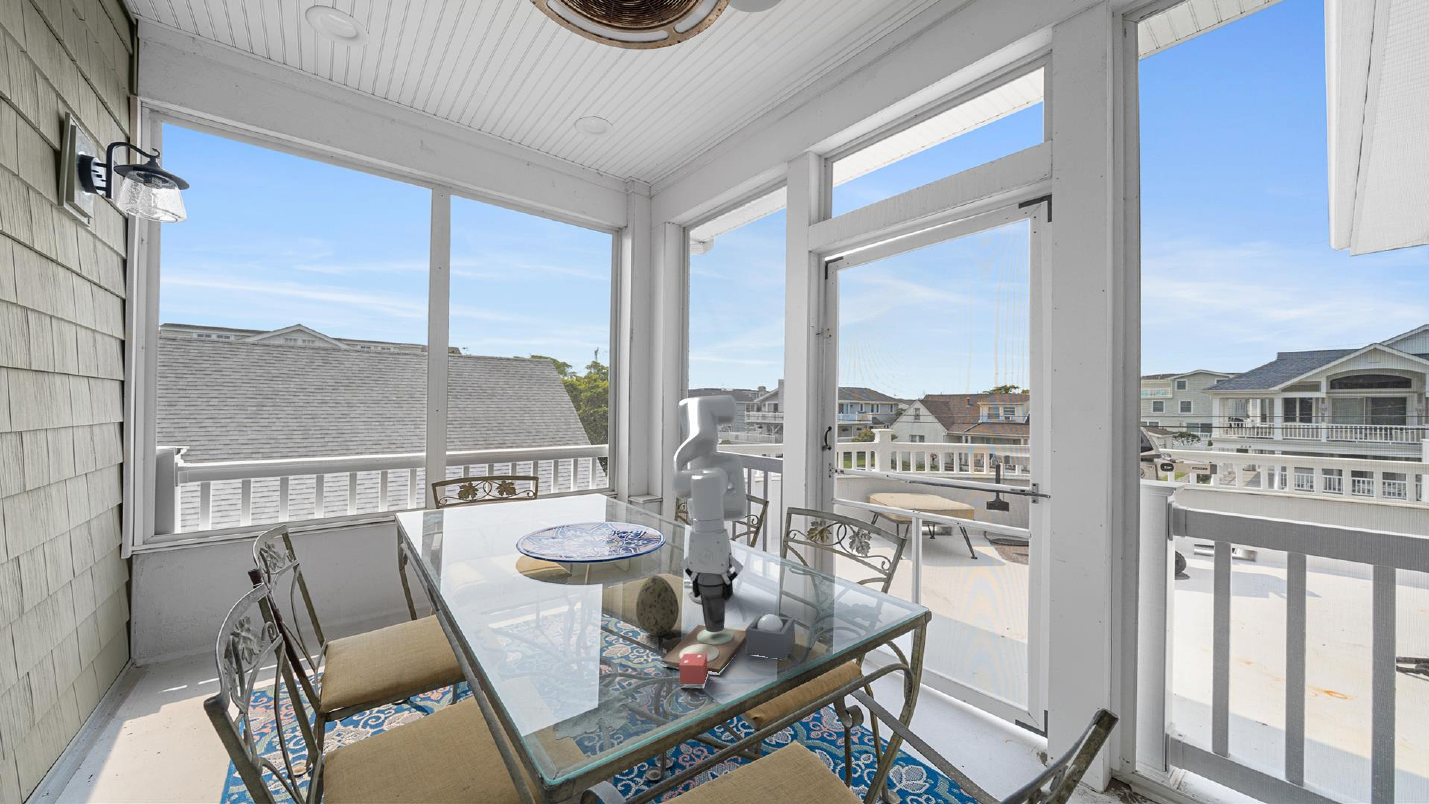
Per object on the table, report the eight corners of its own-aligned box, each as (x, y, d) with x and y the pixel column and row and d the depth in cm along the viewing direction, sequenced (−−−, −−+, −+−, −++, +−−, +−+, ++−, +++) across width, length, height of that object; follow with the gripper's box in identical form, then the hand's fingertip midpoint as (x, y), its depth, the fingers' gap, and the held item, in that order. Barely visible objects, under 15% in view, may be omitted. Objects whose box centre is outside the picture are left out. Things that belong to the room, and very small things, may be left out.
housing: (746, 655, 133) (745, 629, 133) (759, 638, 142) (758, 614, 141) (784, 660, 130) (783, 634, 130) (795, 643, 138) (794, 618, 138)
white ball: (754, 644, 134) (753, 619, 134) (763, 633, 140) (761, 609, 139) (779, 647, 132) (778, 621, 132) (787, 636, 137) (785, 611, 137)
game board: (662, 667, 130) (661, 659, 130) (698, 630, 148) (698, 623, 148) (719, 676, 125) (718, 667, 125) (750, 637, 143) (749, 630, 143)
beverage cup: (699, 623, 144) (694, 543, 143) (728, 620, 145) (723, 541, 144) (700, 636, 137) (695, 552, 136) (731, 633, 137) (726, 549, 137)
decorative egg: (633, 630, 151) (629, 573, 150) (673, 622, 155) (669, 566, 154) (643, 647, 141) (639, 586, 140) (685, 637, 145) (681, 578, 144)
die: (680, 688, 121) (679, 664, 120) (685, 676, 126) (683, 653, 125) (704, 689, 120) (702, 664, 120) (708, 676, 125) (706, 653, 125)
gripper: (669, 526, 140) (674, 599, 141) (736, 530, 133) (741, 606, 134) (683, 519, 147) (687, 588, 147) (747, 522, 140) (752, 594, 140)
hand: (713, 596), depth 140 cm, fingers closed on beverage cup, 7 cm apart
